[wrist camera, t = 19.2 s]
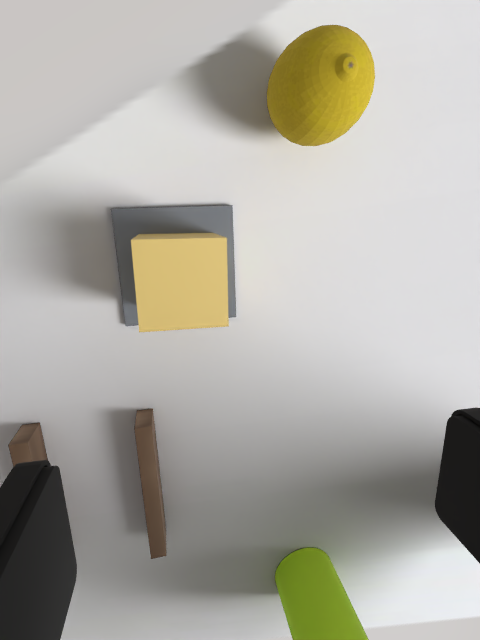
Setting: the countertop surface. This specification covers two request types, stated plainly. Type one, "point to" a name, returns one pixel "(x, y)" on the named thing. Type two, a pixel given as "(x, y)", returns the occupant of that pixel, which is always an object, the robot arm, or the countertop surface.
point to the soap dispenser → (315, 598)
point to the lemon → (320, 85)
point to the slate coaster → (168, 222)
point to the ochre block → (180, 281)
